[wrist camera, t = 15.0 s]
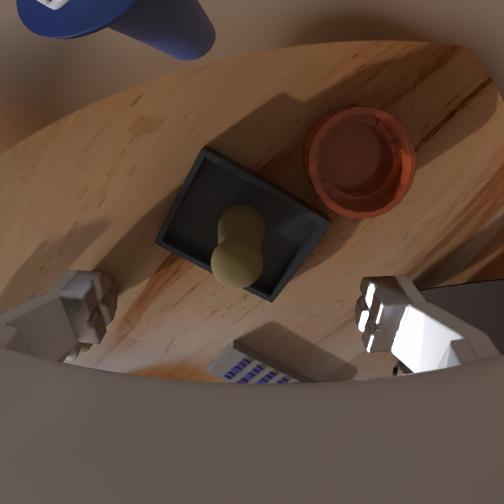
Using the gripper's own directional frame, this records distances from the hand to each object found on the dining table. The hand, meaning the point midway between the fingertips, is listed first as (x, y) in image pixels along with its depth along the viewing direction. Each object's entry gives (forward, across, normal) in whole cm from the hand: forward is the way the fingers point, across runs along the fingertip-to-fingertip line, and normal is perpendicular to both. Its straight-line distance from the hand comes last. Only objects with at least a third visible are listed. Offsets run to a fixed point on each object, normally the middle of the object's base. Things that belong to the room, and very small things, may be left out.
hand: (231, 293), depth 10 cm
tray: (+29, +1, +10) cm, 31 cm away
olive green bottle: (+29, +1, +10) cm, 30 cm away
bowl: (+29, -12, 0) cm, 32 cm away
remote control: (+29, -4, +40) cm, 49 cm away
